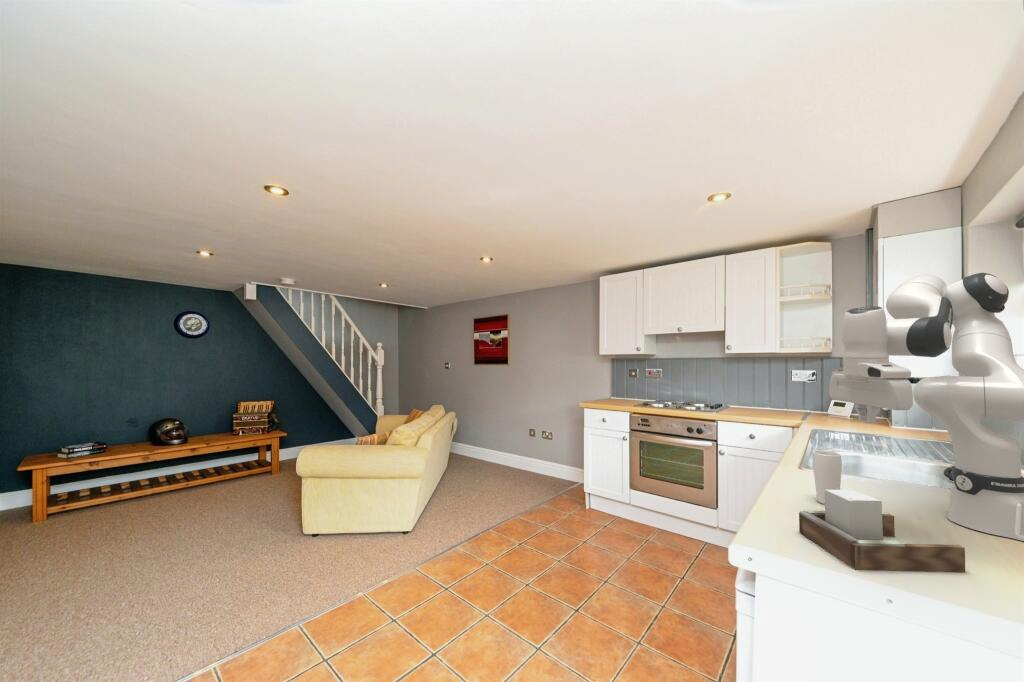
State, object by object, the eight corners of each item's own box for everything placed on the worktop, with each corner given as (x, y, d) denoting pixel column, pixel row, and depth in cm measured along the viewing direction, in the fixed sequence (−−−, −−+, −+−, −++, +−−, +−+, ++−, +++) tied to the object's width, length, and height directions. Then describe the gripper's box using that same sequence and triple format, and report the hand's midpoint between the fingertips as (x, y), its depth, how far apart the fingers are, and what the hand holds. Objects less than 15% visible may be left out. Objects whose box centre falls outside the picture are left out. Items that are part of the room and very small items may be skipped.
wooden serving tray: (889, 534, 95) (889, 511, 96) (966, 572, 79) (965, 544, 79) (797, 532, 96) (797, 509, 96) (854, 569, 80) (853, 542, 80)
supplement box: (885, 559, 84) (883, 501, 84) (849, 558, 84) (848, 500, 85) (856, 542, 91) (855, 489, 92) (824, 541, 92) (823, 488, 92)
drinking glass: (844, 509, 110) (843, 457, 111) (815, 504, 114) (814, 453, 114) (840, 501, 116) (839, 452, 117) (812, 497, 120) (811, 449, 120)
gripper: (821, 366, 110) (823, 415, 110) (891, 371, 90) (892, 431, 89) (843, 366, 110) (845, 414, 110) (918, 371, 89) (920, 430, 89)
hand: (867, 422), depth 99 cm, fingers closed
